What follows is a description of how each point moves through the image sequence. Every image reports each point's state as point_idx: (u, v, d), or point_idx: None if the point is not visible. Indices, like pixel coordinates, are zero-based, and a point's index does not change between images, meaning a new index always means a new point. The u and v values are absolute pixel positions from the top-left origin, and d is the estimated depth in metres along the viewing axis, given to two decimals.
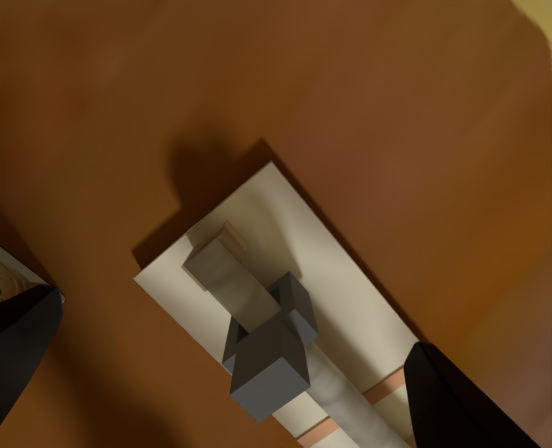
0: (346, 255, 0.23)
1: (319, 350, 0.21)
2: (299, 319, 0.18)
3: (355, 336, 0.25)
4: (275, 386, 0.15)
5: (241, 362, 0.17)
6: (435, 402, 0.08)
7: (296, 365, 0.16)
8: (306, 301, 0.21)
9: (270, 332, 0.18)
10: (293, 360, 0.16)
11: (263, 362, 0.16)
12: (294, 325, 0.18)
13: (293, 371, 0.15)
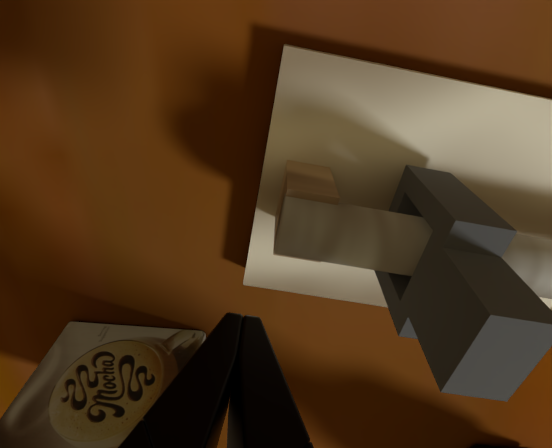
0: (474, 87, 0.14)
1: (518, 237, 0.14)
2: (471, 229, 0.11)
3: None
4: (504, 352, 0.09)
5: (425, 331, 0.11)
6: (235, 374, 0.07)
7: (519, 307, 0.09)
8: (458, 190, 0.13)
9: (440, 272, 0.11)
10: (509, 302, 0.09)
11: (462, 329, 0.09)
12: (469, 241, 0.11)
13: (523, 322, 0.09)
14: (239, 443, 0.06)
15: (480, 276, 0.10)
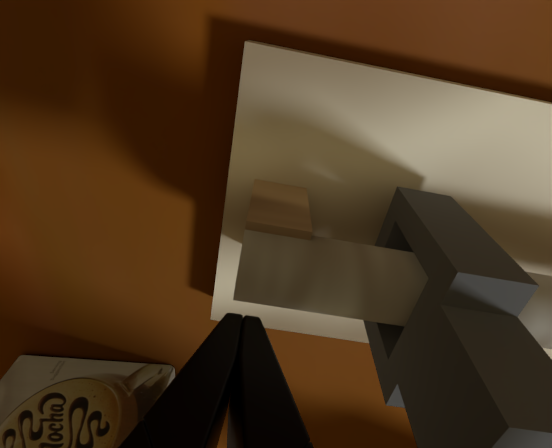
0: (480, 92, 0.12)
1: (535, 279, 0.11)
2: (479, 283, 0.08)
3: None
4: None
5: (418, 413, 0.09)
6: (235, 374, 0.07)
7: (548, 407, 0.06)
8: (461, 221, 0.11)
9: (437, 338, 0.08)
10: (534, 398, 0.07)
11: (468, 432, 0.07)
12: (475, 297, 0.08)
13: None
14: (239, 443, 0.06)
15: (491, 352, 0.07)
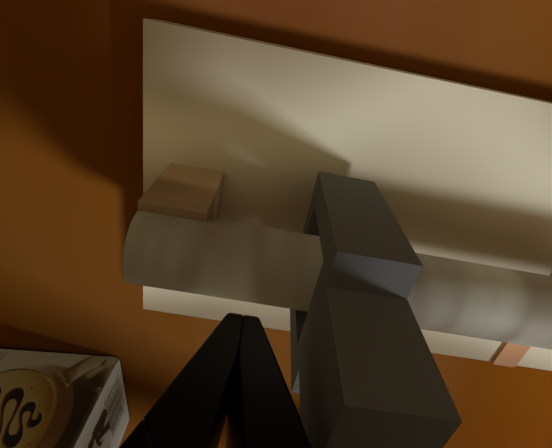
0: (389, 73, 0.11)
1: (440, 263, 0.11)
2: (361, 263, 0.08)
3: (496, 190, 0.13)
4: None
5: (305, 397, 0.08)
6: (234, 374, 0.07)
7: (398, 386, 0.06)
8: (371, 205, 0.10)
9: (321, 320, 0.08)
10: (386, 378, 0.06)
11: (325, 413, 0.07)
12: (360, 278, 0.08)
13: (396, 416, 0.06)
14: (238, 443, 0.06)
15: (360, 333, 0.07)
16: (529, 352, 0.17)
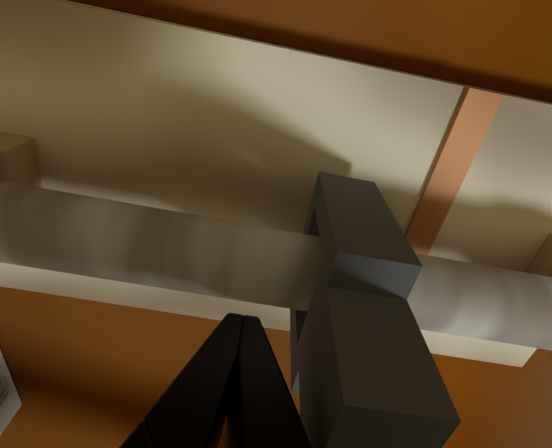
0: (176, 29, 0.11)
1: (218, 225, 0.10)
2: (361, 263, 0.08)
3: (317, 157, 0.13)
4: None
5: (305, 397, 0.08)
6: (234, 374, 0.07)
7: (398, 387, 0.06)
8: (371, 205, 0.10)
9: (321, 320, 0.08)
10: (386, 377, 0.06)
11: (325, 413, 0.07)
12: (360, 278, 0.08)
13: (395, 415, 0.06)
14: (238, 443, 0.06)
15: (360, 333, 0.07)
16: None
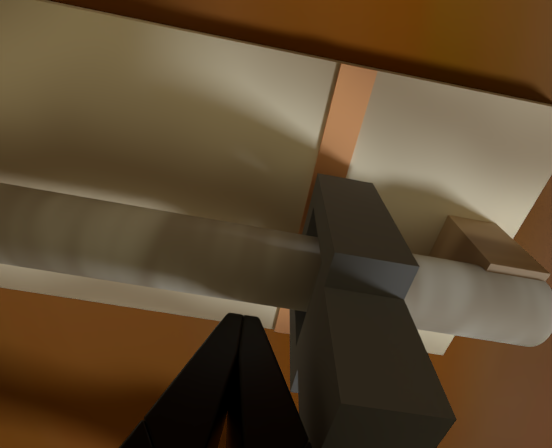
0: (37, 4, 0.11)
1: (73, 202, 0.10)
2: (358, 264, 0.08)
3: (201, 136, 0.13)
4: None
5: (303, 397, 0.09)
6: (234, 374, 0.07)
7: (394, 385, 0.06)
8: (369, 206, 0.11)
9: (319, 320, 0.08)
10: (382, 376, 0.06)
11: (323, 411, 0.07)
12: (357, 279, 0.08)
13: (391, 413, 0.06)
14: (238, 443, 0.06)
15: (357, 332, 0.07)
16: None
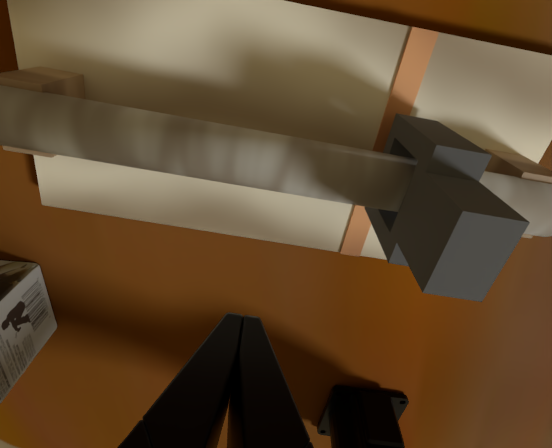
0: None
1: (225, 126, 0.14)
2: (451, 153, 0.12)
3: (300, 86, 0.17)
4: (476, 250, 0.10)
5: (411, 248, 0.13)
6: (235, 374, 0.07)
7: (489, 209, 0.10)
8: (443, 130, 0.15)
9: (423, 193, 0.12)
10: (481, 205, 0.10)
11: (441, 232, 0.11)
12: (449, 165, 0.12)
13: (491, 219, 0.10)
14: (239, 443, 0.06)
15: (457, 190, 0.11)
16: (369, 242, 0.21)
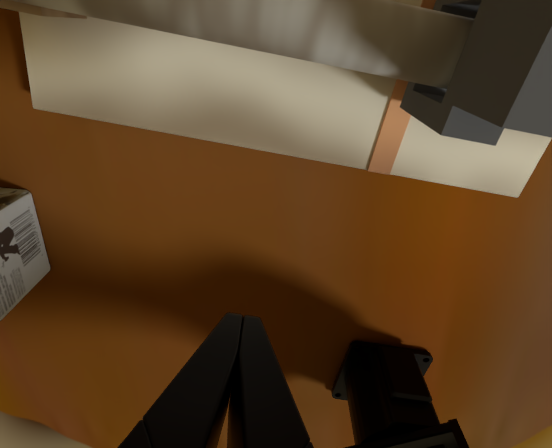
0: None
1: None
2: None
3: None
4: None
5: (477, 95, 0.10)
6: (235, 374, 0.07)
7: None
8: None
9: (494, 24, 0.10)
10: None
11: (530, 41, 0.08)
12: None
13: None
14: (239, 443, 0.06)
15: None
16: (401, 157, 0.18)
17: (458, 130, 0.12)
